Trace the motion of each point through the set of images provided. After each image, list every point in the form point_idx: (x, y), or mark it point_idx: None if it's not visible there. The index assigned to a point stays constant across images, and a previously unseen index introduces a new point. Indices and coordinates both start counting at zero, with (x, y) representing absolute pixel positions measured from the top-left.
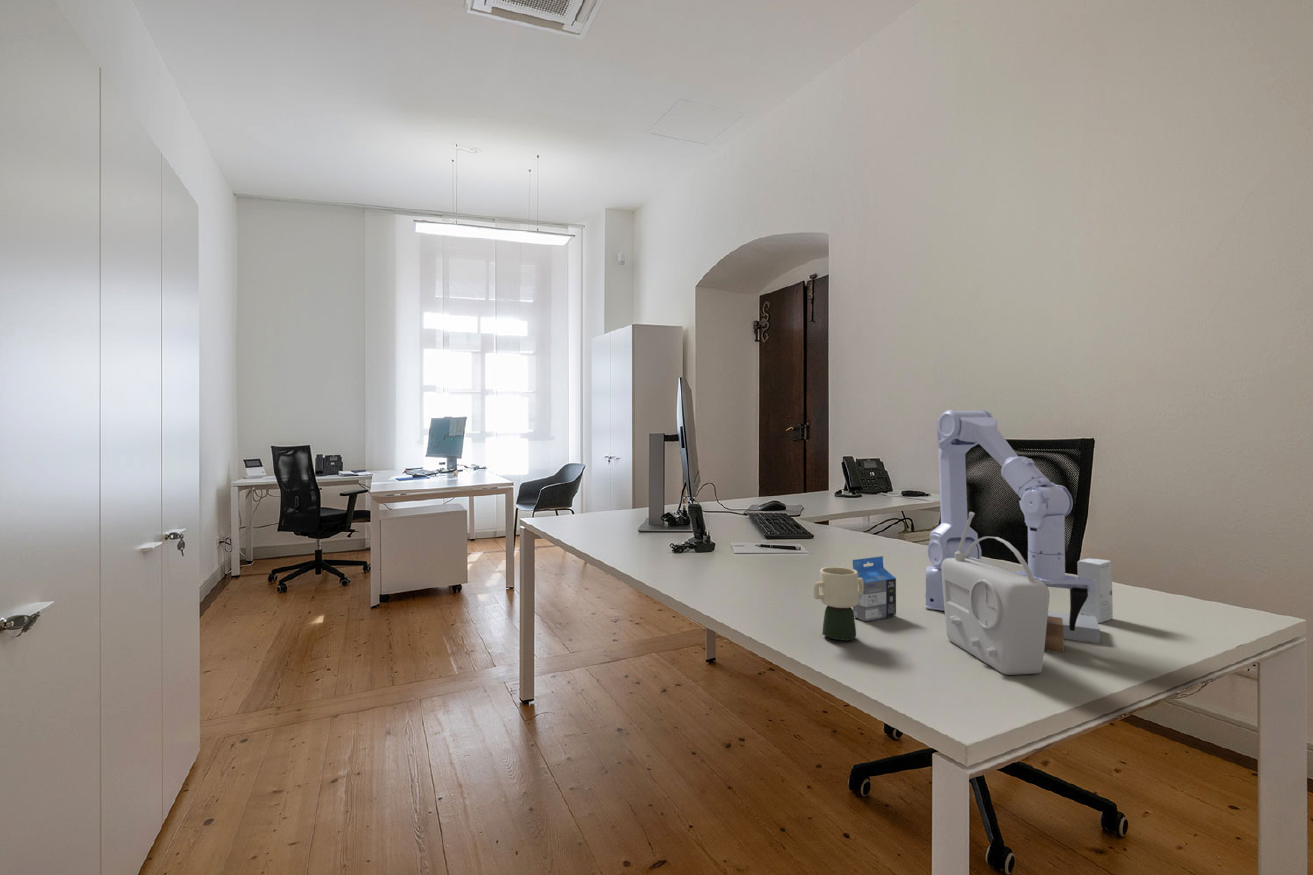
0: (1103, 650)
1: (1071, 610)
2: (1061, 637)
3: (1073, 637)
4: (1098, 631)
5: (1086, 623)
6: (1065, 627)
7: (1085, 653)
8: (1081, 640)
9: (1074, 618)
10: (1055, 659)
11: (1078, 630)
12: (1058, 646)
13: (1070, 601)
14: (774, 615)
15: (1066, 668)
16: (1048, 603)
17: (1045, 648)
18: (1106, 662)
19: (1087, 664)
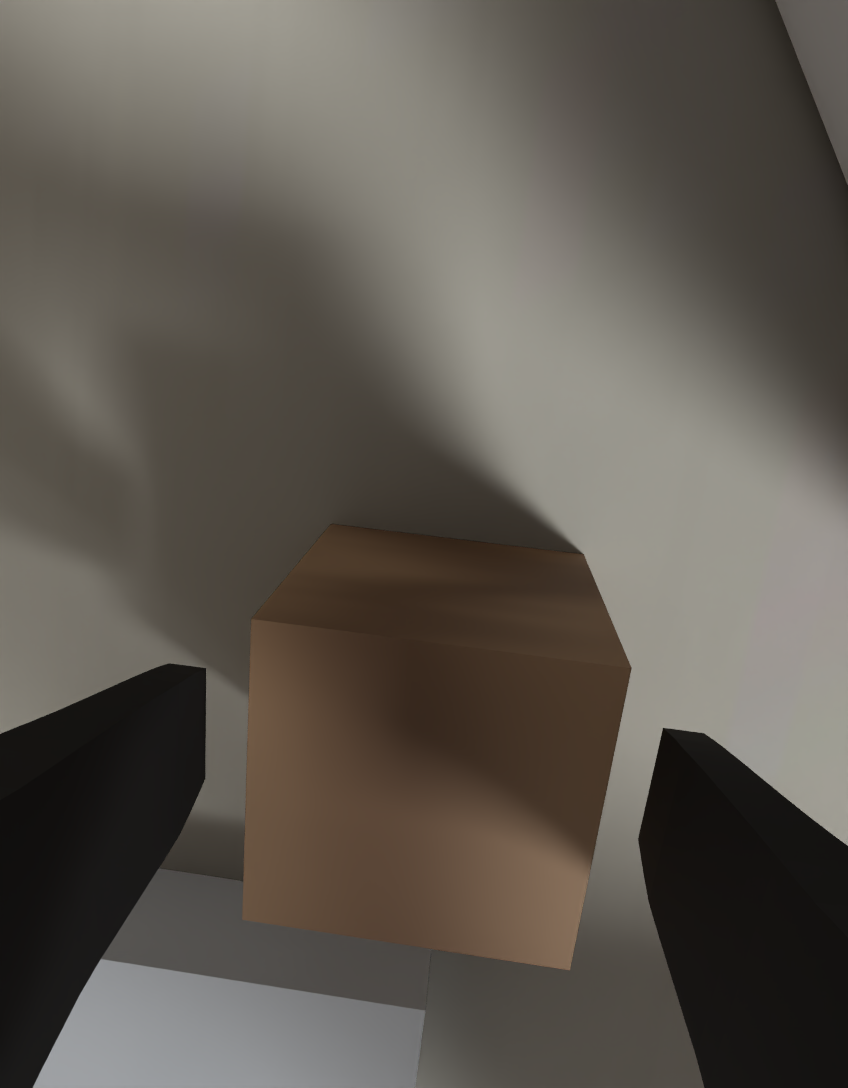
0: (44, 698)
1: (43, 768)
2: (311, 565)
3: (221, 890)
4: None
5: (83, 1063)
6: (251, 963)
7: (168, 574)
8: (176, 872)
9: (79, 712)
10: (416, 297)
11: (161, 937)
12: (357, 542)
13: (4, 1057)
14: None
15: (352, 44)
16: None
17: (464, 543)
18: (31, 397)
19: (170, 269)
